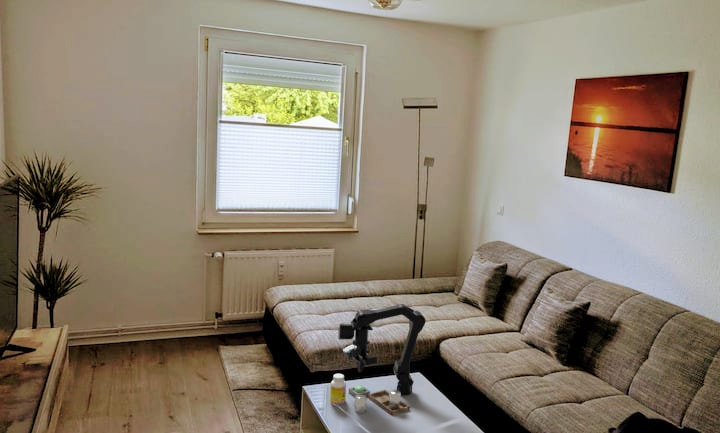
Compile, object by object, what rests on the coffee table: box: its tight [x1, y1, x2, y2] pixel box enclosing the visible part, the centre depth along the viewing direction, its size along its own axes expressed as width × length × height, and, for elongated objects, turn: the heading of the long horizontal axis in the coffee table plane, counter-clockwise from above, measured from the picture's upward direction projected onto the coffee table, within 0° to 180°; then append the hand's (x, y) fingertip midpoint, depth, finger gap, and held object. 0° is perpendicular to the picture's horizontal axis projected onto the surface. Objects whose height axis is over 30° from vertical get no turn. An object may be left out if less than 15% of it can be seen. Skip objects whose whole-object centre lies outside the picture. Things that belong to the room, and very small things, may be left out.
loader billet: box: [388, 389, 402, 410], centre depth 244 cm, size 5×5×7 cm
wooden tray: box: [367, 389, 411, 416], centre depth 248 cm, size 9×18×3 cm, turn 34°
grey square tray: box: [348, 384, 371, 398], centre depth 256 cm, size 7×7×3 cm
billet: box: [354, 395, 368, 414], centre depth 240 cm, size 5×5×7 cm
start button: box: [354, 385, 365, 393], centre depth 256 cm, size 4×4×3 cm
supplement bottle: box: [329, 373, 347, 407], centre depth 248 cm, size 7×7×13 cm
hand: (359, 371), depth 254 cm, fingers closed
